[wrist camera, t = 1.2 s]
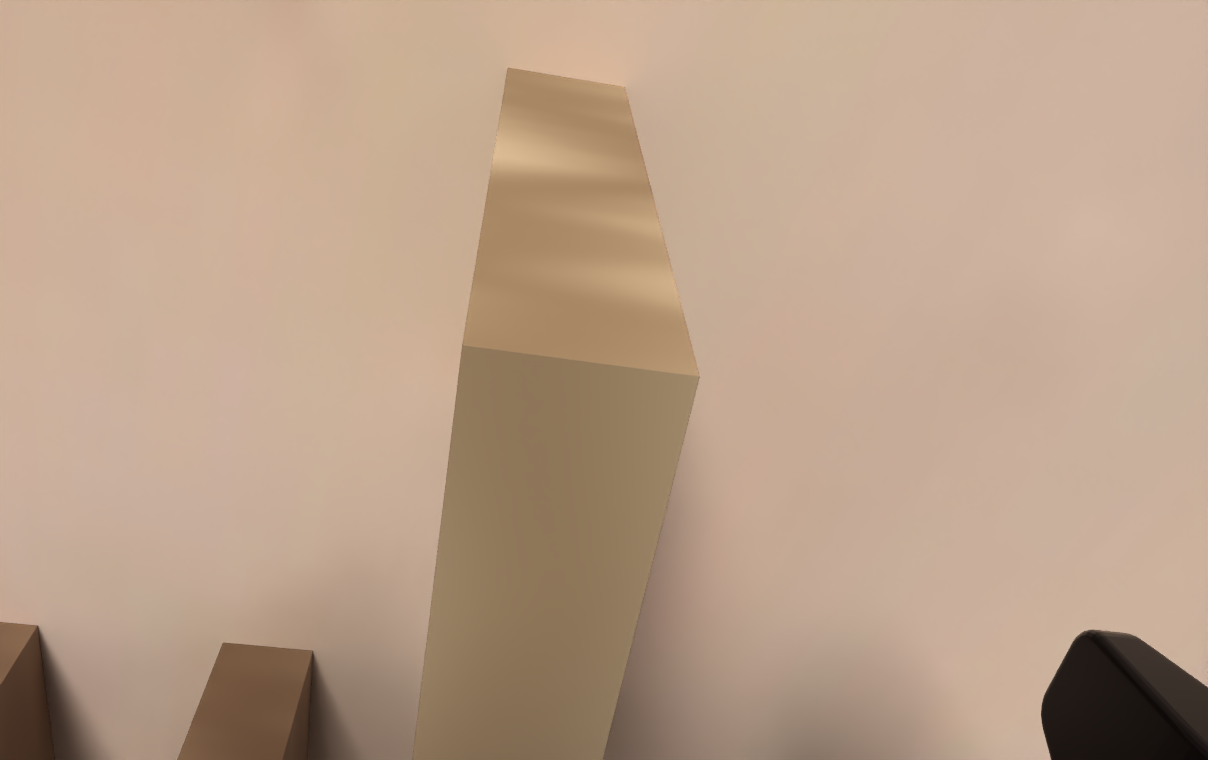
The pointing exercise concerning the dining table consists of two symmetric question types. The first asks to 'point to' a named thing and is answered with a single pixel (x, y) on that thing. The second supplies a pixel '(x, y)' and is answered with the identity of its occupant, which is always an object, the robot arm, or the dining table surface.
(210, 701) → the domino
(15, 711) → the domino
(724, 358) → the dining table surface
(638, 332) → the domino
